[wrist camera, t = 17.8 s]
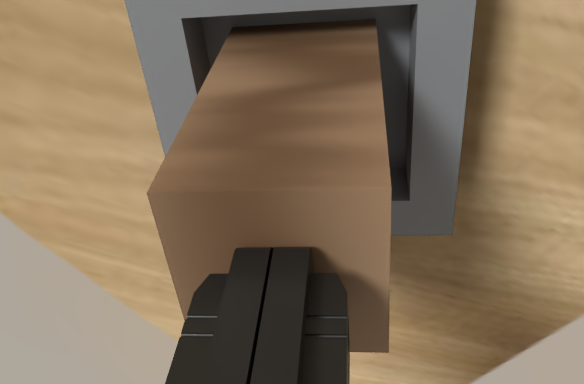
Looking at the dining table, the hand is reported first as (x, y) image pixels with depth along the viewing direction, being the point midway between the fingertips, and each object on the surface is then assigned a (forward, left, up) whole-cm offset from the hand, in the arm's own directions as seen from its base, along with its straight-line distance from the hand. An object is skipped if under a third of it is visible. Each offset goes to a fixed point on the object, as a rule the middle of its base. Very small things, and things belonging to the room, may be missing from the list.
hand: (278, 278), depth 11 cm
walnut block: (0, 0, -9) cm, 9 cm away
